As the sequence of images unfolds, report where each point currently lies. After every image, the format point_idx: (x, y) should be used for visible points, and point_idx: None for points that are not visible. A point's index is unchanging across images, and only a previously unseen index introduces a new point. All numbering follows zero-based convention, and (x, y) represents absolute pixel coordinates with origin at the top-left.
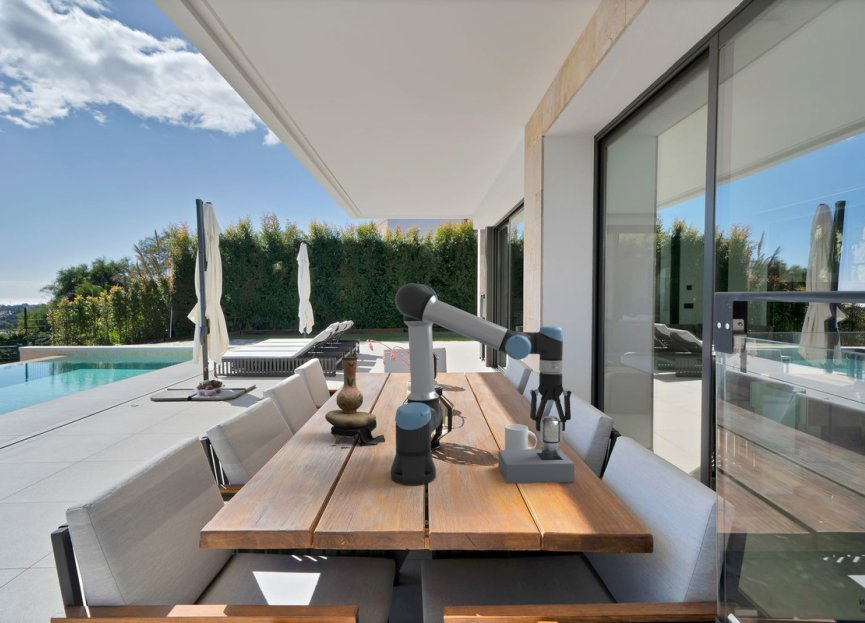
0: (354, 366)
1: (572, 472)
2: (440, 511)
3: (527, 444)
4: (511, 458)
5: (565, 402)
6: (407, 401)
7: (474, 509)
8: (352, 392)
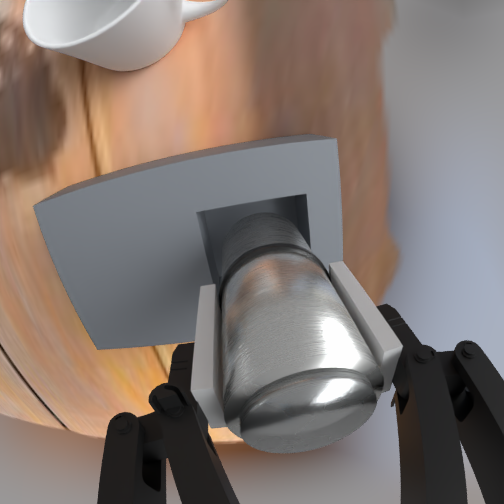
0: None
1: None
2: (55, 403)
3: (174, 19)
4: (96, 297)
5: (499, 483)
6: None
7: (94, 404)
8: None
